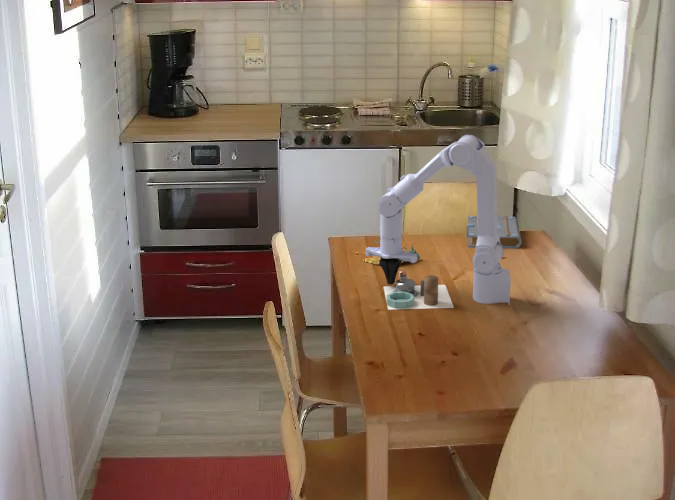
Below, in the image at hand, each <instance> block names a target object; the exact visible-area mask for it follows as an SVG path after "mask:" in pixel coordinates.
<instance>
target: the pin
mask: <svg viewBox="0 0 675 500" xmlns="http://www.w3.org/2000/svg"><path fill="white" fill-rule="evenodd" d="M423 281H424V304H425V305H429V306H434V305H437V304H438V285H439V277H438V276H436V275H426V276H424V280H423Z"/></svg>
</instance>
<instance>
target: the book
mask: <svg viewBox="0 0 675 500" xmlns="http://www.w3.org/2000/svg"><path fill="white" fill-rule="evenodd" d="M497 233H498V235H499V237H500V244H501V246H502V247H503V249H519V248H520V247H521V245H522V236H521V232H520V226H519V221H518V219H517V217H516V216H506V215H504V216H503V215H502V216H498V215H497ZM466 238H467V239H468V240H467V241H468V242H467V243H468V244H467V245H468V248H471V249H472V248H475V249H476V243H477V238H478V224H477V215H468V216H467V223H466Z"/></svg>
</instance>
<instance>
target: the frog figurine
mask: <svg viewBox="0 0 675 500" xmlns="http://www.w3.org/2000/svg"><path fill="white" fill-rule="evenodd" d="M374 243H375V244H378V245H380V242H378V240H374ZM378 248H380V246H378ZM403 249H405V250H408V248H407V247H406V246H403V247H402V250H403ZM408 252H409V253H413V254H417V261H416V262H420V261H423V259H422V258H421V255H420V254H419V253H418V252H417V250H416V249H414V245H411V248H410V250H409V251H408ZM364 259H365V262H364V263H368V264H371V265H373V264H375V265H380V264H379V260H380V259H381V257H378V256H370V257H367V258H364ZM404 262H406V261H402V263H404Z"/></svg>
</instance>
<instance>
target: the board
mask: <svg viewBox="0 0 675 500" xmlns="http://www.w3.org/2000/svg"><path fill="white" fill-rule="evenodd" d="M383 291H384V296H385V301H386V303H387V295H388V294H390V293H392V292H396V285H391V286H388V285H385V286H383ZM413 296H414V304H413V305H412V306H411V307H408V308H393V307H390V306H388V305H387V304H386V306H387V310H388V311H390V310H393V311H394V310H421V309H424V310H425V309H426V310H427V309H454V308H455V307H454V304H453V302H452V299H451V296H450V293H449V291H448V288H447V286H446V284H438V304H437V305H434V306H429V305H425V304H424V280H420V285H415V293H414V294H413Z"/></svg>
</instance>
